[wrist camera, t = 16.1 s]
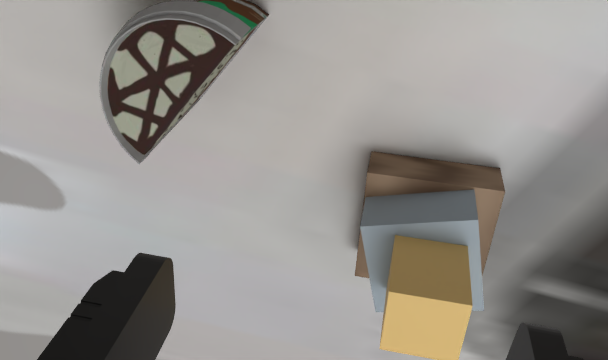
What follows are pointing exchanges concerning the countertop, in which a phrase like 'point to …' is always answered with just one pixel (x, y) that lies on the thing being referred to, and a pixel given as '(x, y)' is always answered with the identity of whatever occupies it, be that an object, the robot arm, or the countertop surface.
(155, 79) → the food container
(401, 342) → the ochre block
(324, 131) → the countertop surface
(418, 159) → the walnut block
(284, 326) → the countertop surface
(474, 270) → the grey block
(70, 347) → the robot arm
